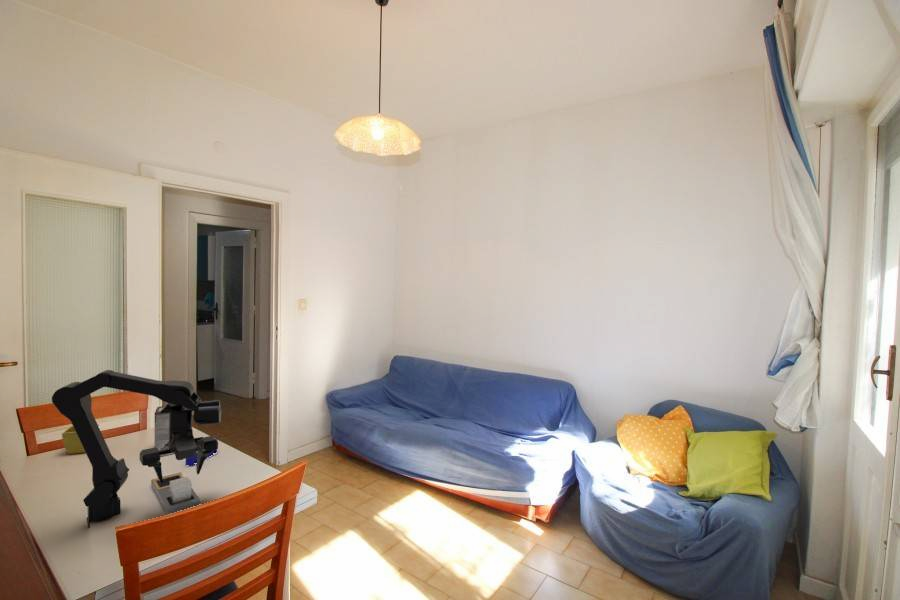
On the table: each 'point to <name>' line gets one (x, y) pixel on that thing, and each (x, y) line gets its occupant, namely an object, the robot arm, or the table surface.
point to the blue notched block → (194, 459)
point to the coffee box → (161, 429)
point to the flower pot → (72, 441)
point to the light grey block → (180, 490)
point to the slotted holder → (164, 494)
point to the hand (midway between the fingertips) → (180, 478)
